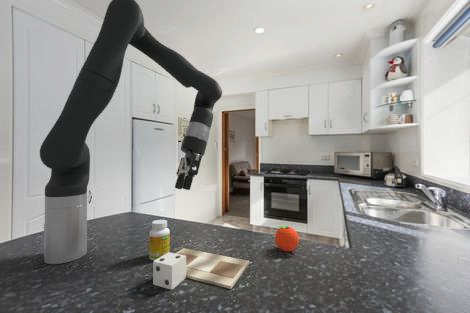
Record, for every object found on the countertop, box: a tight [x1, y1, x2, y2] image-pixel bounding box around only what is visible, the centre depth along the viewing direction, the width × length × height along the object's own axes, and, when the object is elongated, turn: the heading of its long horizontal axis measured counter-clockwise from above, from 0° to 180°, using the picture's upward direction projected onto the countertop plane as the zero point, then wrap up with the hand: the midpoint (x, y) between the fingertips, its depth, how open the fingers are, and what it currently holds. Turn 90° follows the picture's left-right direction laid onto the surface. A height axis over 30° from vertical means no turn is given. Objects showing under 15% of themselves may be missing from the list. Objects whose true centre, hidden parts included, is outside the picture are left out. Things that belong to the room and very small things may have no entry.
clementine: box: [272, 225, 300, 252], centre depth 65 cm, size 8×7×7 cm
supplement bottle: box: [148, 219, 171, 261], centre depth 60 cm, size 5×5×10 cm
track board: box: [174, 247, 250, 290], centre depth 55 cm, size 20×12×1 cm, turn 68°
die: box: [152, 251, 186, 290], centre depth 49 cm, size 5×5×5 cm
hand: (181, 189), depth 65 cm, fingers open, 8 cm apart
